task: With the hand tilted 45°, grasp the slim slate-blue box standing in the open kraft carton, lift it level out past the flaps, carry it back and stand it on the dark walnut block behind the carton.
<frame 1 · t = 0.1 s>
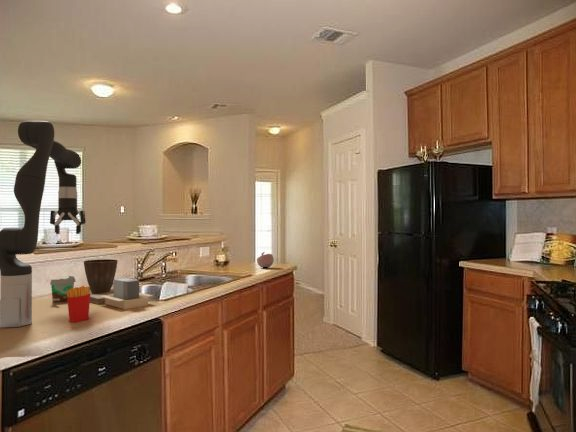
hand: (67, 234, 196), 29 cm above the worktop, tool pointing down, fingers open, 8 cm apart
french fries: (78, 320, 157), on the worktop
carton: (126, 306, 182), on the worktop
plant pot: (100, 294, 210), on the worktop
apple: (265, 268, 313), on the worktop
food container: (66, 301, 194), on the worktop
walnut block: (105, 302, 191), on the worktop
slim box: (126, 304, 182), point 1 cm above the worktop, touching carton
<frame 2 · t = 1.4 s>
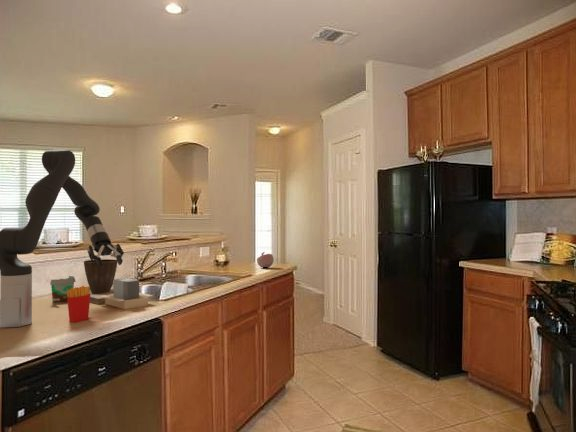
hand: (111, 264, 190), 16 cm above the worktop, tool tilted 45°, fingers open, 8 cm apart
nothing on the worktop moved.
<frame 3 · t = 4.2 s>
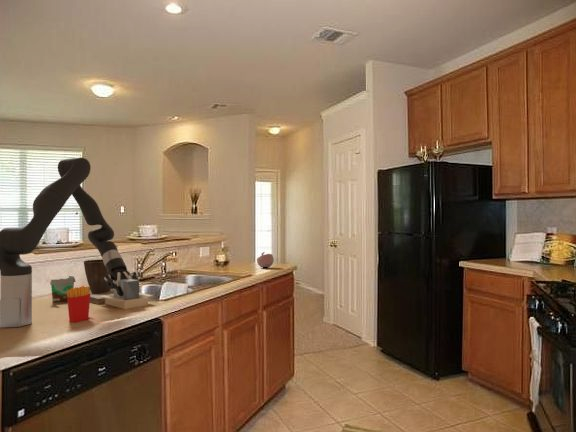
hand: (128, 294, 181), 5 cm above the worktop, tool tilted 45°, fingers closed on slim box, 5 cm apart
slim box: (126, 304, 182), point 1 cm above the worktop, touching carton, gripper
everything else where it was.
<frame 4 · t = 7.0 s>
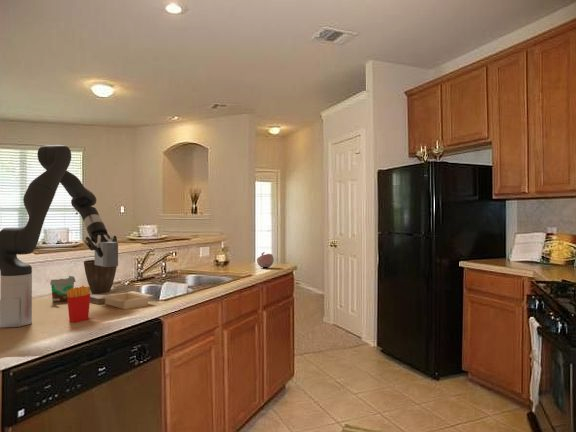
hand: (108, 255, 189), 20 cm above the worktop, tool tilted 45°, fingers closed on slim box, 5 cm apart
slim box: (106, 265, 190), point 16 cm above the worktop, touching gripper
everything else where it was.
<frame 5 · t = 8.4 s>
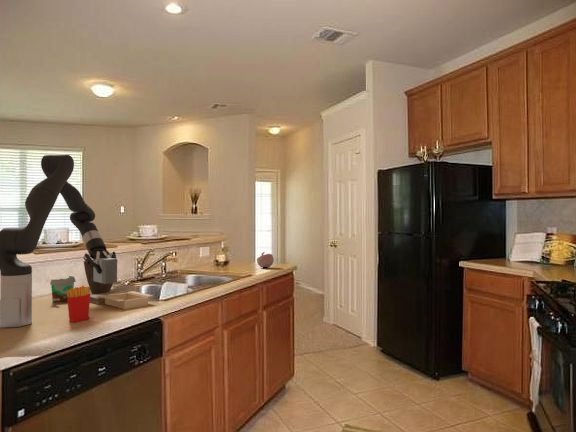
hand: (107, 272, 190), 13 cm above the worktop, tool tilted 45°, fingers closed on slim box, 5 cm apart
slim box: (105, 281, 191), point 9 cm above the worktop, touching gripper
everything else where it was.
when the fingers open (9 cm above the worktop, at t = 9.7 s): slim box drops 1 cm, resting on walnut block.
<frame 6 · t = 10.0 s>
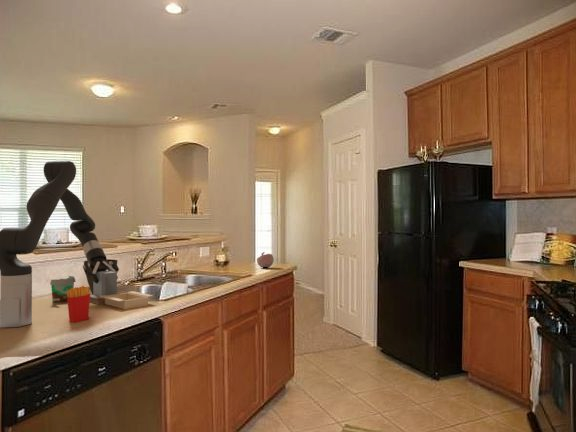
hand: (106, 281, 190), 9 cm above the worktop, tool tilted 45°, fingers open, 7 cm apart
slim box: (104, 295, 191), point 3 cm above the worktop, touching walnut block
everything else where it was.
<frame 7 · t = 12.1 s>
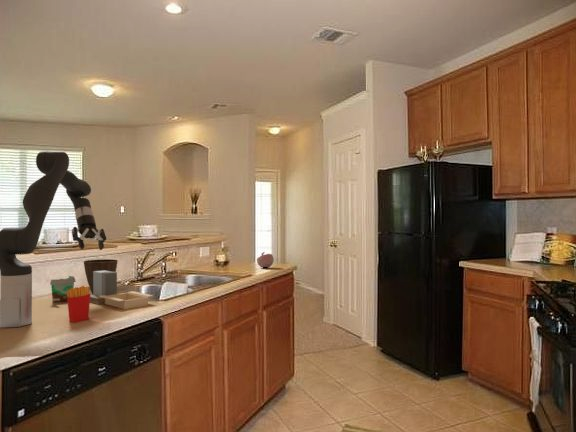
hand: (92, 248, 196), 23 cm above the worktop, tool tilted 35°, fingers open, 8 cm apart
nothing on the worktop moved.
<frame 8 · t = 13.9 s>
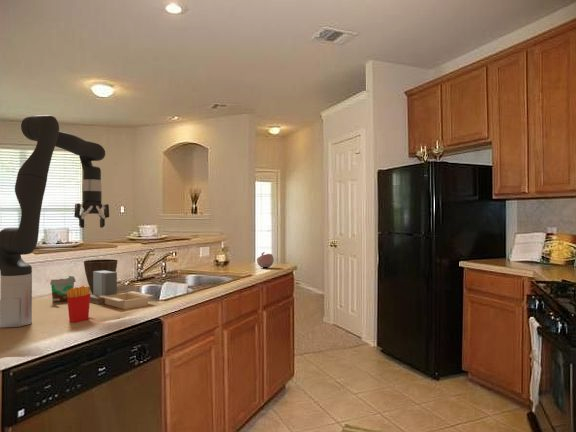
hand: (92, 227, 193), 32 cm above the worktop, tool pointing down, fingers open, 8 cm apart
nothing on the worktop moved.
at the end: slim box inside the target area on the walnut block (0.2 cm from its centre), point 3.0 cm above the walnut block's base; slim box tilted 0°; the gripper is holding nothing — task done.
